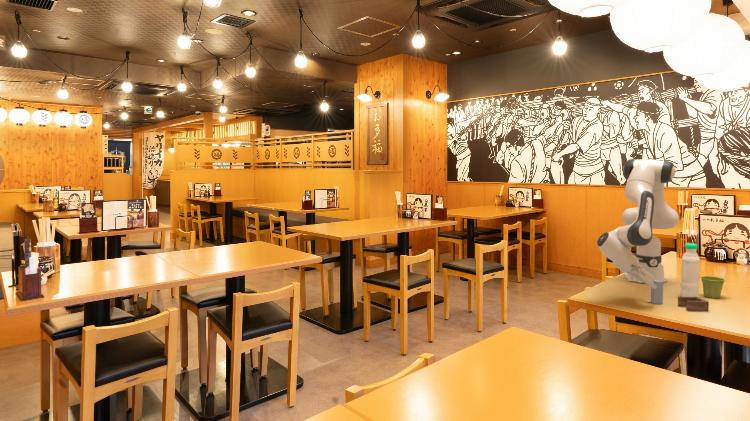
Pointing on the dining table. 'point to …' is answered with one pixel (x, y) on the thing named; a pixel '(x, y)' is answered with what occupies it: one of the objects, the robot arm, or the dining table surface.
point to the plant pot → (712, 286)
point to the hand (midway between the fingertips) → (650, 285)
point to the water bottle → (690, 272)
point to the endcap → (693, 303)
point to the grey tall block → (657, 293)
